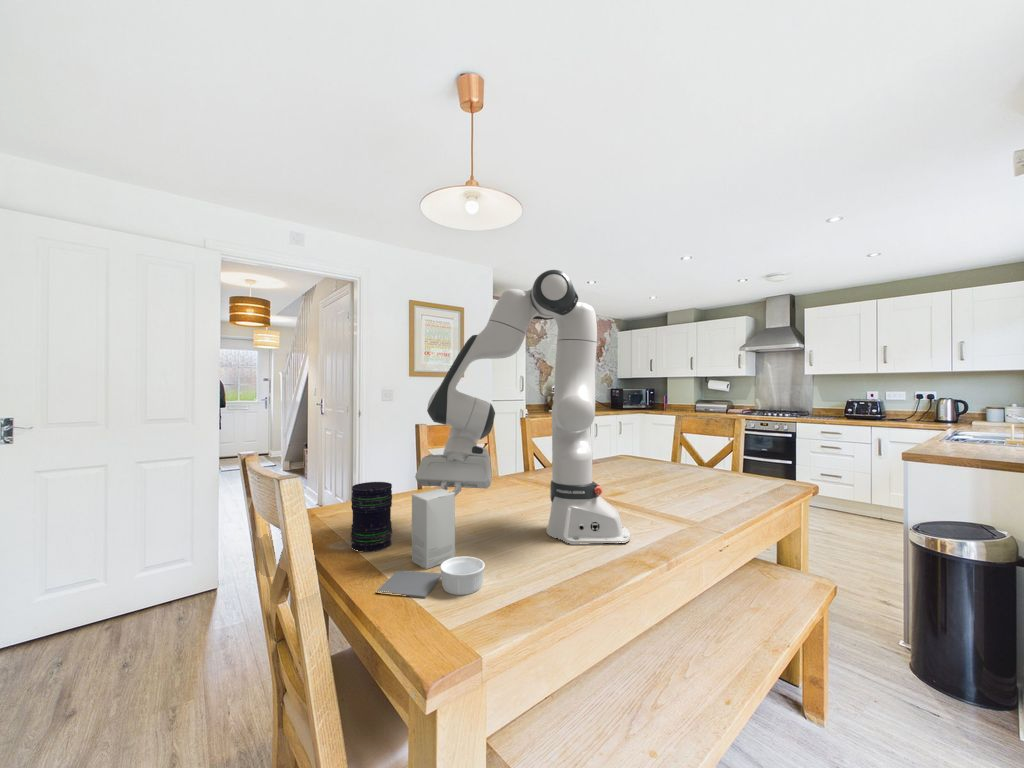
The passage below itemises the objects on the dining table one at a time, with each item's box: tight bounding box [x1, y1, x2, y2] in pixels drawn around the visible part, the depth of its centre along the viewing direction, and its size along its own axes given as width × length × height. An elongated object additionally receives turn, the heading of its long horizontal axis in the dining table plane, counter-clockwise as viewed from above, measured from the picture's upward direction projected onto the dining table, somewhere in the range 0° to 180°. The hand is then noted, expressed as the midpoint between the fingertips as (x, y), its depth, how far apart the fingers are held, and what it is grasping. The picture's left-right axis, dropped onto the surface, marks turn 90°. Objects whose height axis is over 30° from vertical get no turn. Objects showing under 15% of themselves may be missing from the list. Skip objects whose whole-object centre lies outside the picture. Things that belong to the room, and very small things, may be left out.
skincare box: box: [411, 488, 456, 570], centre depth 96 cm, size 8×7×16 cm
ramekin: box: [439, 555, 486, 596], centre depth 84 cm, size 9×9×4 cm
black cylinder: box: [350, 481, 393, 553], centre depth 106 cm, size 10×10×15 cm
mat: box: [376, 569, 442, 599], centre depth 84 cm, size 10×10×1 cm
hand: (447, 499), depth 107 cm, fingers closed
